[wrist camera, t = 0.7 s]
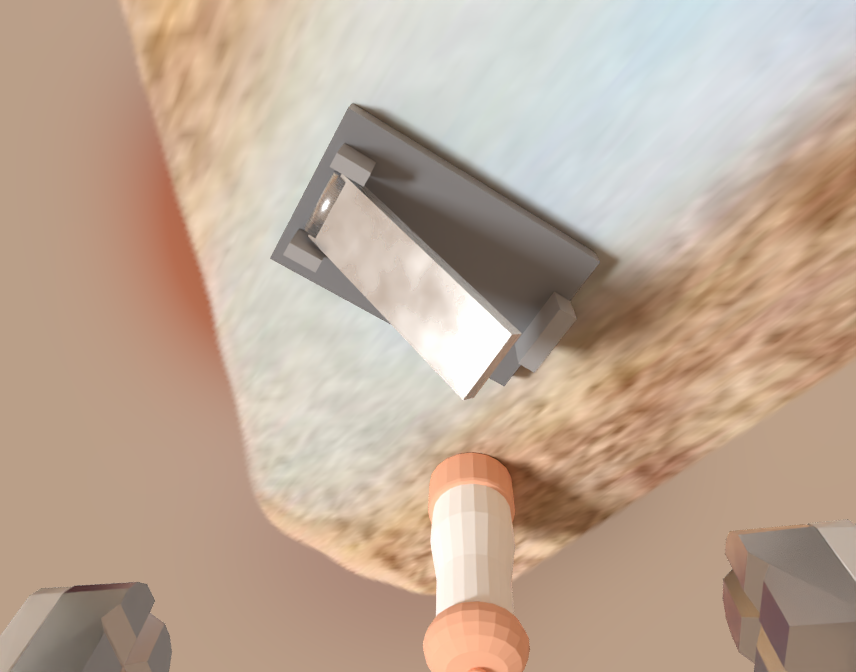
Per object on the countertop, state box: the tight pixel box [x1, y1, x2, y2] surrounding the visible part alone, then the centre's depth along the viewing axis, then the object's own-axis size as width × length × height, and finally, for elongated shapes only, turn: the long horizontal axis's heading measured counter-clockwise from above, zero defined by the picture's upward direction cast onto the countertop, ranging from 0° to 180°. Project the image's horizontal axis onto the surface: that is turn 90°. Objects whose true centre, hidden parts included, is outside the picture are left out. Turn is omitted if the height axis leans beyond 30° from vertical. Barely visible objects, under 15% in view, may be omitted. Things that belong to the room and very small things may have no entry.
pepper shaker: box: [423, 453, 530, 672], centre depth 50 cm, size 7×7×19 cm
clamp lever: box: [304, 171, 522, 400], centre depth 42 cm, size 5×17×2 cm
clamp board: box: [270, 103, 600, 386], centre depth 47 cm, size 12×20×5 cm, turn 59°
